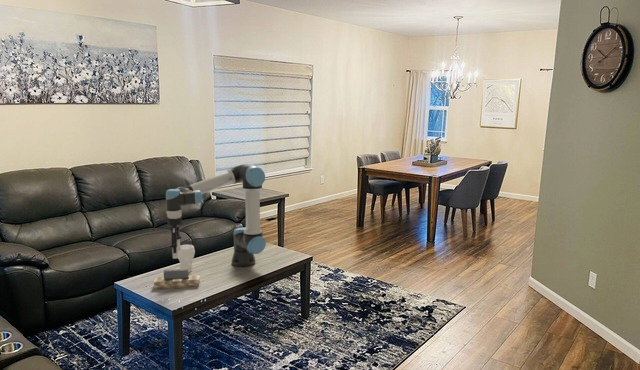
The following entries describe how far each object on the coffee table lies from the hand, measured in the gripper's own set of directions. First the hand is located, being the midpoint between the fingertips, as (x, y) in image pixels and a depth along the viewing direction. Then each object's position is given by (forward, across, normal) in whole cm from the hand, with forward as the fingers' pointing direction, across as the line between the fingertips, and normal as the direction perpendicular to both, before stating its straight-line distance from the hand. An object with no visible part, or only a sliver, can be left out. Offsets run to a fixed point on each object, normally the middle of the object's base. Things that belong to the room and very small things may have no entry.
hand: (176, 254), depth 257 cm
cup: (+18, -24, +2) cm, 30 cm away
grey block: (+17, 0, -1) cm, 17 cm away
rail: (+18, 0, -1) cm, 18 cm away
